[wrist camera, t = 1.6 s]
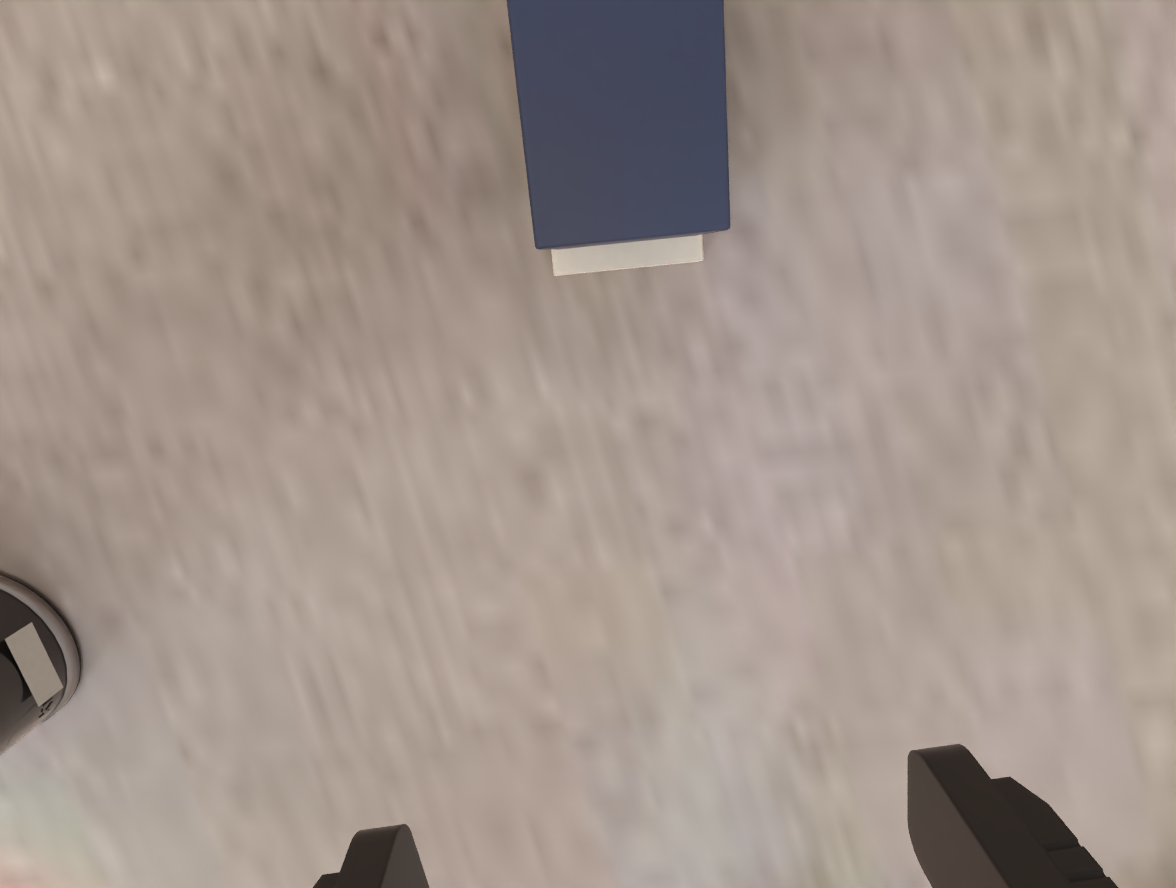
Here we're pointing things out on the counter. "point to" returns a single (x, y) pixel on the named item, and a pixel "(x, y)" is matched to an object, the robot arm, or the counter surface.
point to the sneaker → (622, 128)
